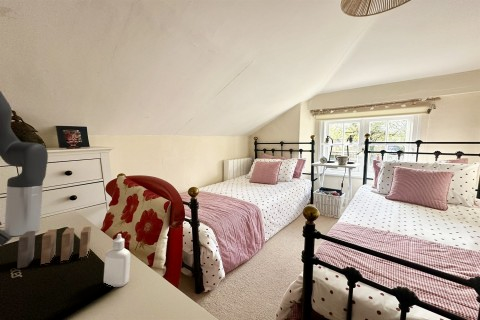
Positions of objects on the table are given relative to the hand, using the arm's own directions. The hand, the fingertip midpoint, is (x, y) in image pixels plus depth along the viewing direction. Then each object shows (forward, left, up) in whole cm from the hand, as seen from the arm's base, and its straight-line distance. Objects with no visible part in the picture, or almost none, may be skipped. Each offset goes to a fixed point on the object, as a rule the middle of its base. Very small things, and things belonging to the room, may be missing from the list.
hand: (7, 241), depth 56 cm
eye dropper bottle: (+27, +18, -7) cm, 33 cm away
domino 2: (+4, +12, -6) cm, 14 cm away
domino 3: (+6, +16, -6) cm, 18 cm away
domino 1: (+3, +8, -6) cm, 11 cm away
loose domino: (+1, +4, -6) cm, 8 cm away
